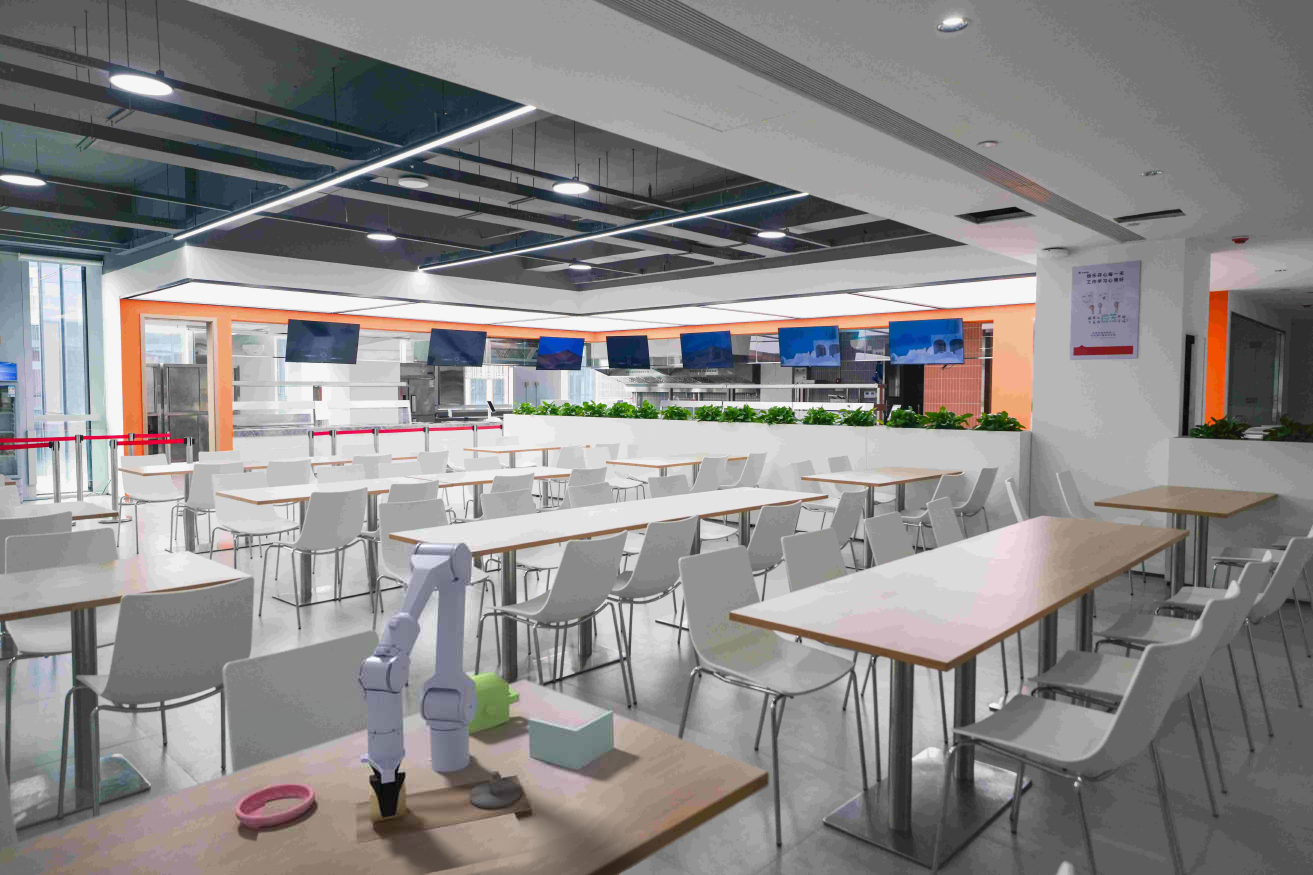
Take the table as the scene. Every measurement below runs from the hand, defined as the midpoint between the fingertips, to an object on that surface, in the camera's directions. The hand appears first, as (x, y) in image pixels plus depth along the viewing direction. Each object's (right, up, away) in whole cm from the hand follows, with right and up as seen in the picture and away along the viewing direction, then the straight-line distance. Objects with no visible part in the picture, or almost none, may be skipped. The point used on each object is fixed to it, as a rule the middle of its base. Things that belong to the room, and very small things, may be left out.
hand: (388, 806), depth 136 cm
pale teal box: (+28, -1, +27) cm, 39 cm away
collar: (0, -1, 0) cm, 1 cm away
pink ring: (-20, -3, +3) cm, 21 cm away
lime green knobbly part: (+6, -2, +42) cm, 42 cm away
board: (+8, -2, +3) cm, 9 cm away
